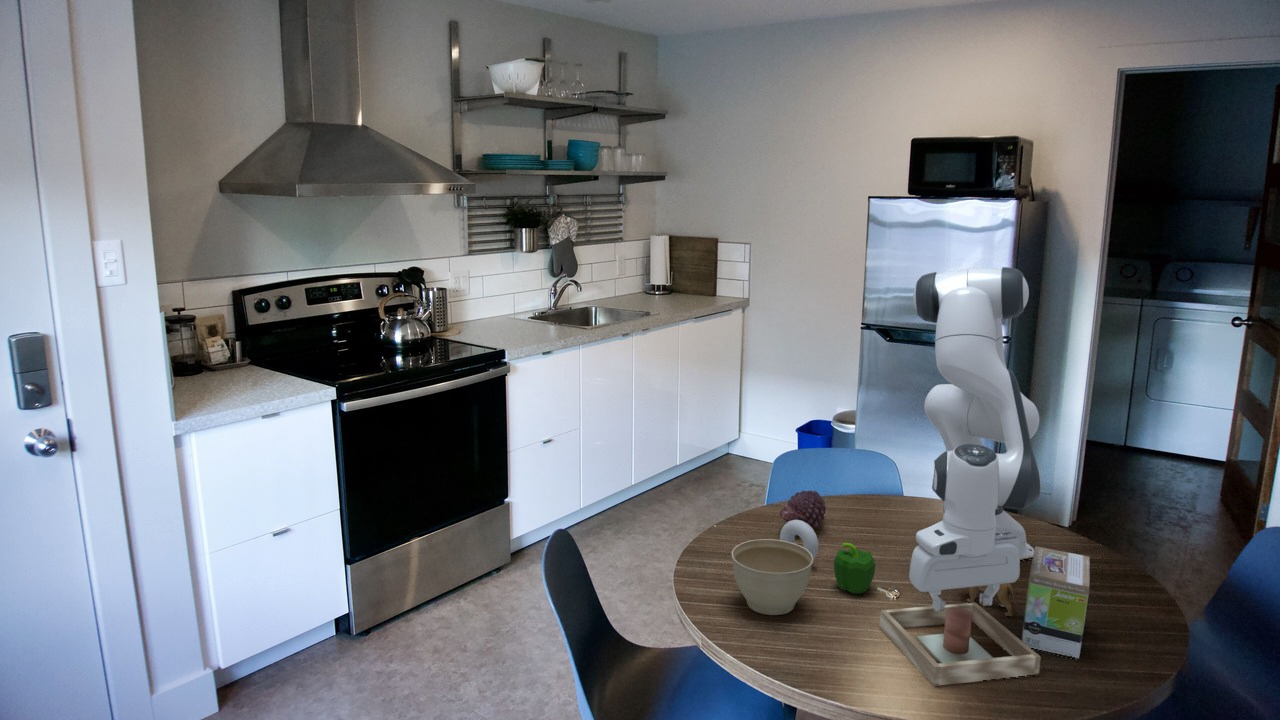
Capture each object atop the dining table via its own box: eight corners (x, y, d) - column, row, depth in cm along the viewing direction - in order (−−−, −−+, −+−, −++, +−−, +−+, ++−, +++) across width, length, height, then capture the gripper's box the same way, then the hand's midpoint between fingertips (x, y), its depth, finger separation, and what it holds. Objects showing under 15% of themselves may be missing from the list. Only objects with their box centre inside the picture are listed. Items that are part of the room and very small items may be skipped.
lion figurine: (945, 598, 174) (949, 558, 172) (954, 589, 178) (958, 549, 176) (1020, 621, 165) (1025, 579, 163) (1028, 611, 169) (1032, 570, 167)
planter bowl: (762, 579, 181) (764, 532, 179) (825, 606, 170) (829, 555, 168) (713, 603, 170) (715, 553, 168) (778, 633, 159) (781, 580, 157)
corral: (973, 618, 165) (975, 602, 165) (1038, 675, 146) (1040, 656, 146) (879, 627, 162) (880, 610, 161) (933, 686, 142) (935, 667, 142)
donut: (820, 567, 187) (823, 525, 185) (810, 572, 185) (813, 529, 183) (785, 553, 194) (787, 512, 193) (775, 557, 192) (777, 516, 190)
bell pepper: (880, 588, 178) (884, 544, 176) (861, 601, 172) (864, 556, 170) (845, 576, 183) (848, 533, 181) (825, 588, 177) (828, 544, 175)
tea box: (1080, 662, 151) (1090, 585, 148) (1020, 647, 155) (1028, 573, 152) (1081, 625, 164) (1090, 554, 161) (1025, 612, 168) (1033, 543, 165)
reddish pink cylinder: (959, 640, 156) (963, 606, 155) (973, 653, 152) (977, 617, 151) (938, 642, 156) (941, 607, 154) (951, 655, 151) (954, 619, 150)
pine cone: (804, 514, 219) (806, 477, 217) (839, 523, 212) (842, 486, 210) (769, 534, 205) (771, 496, 203) (806, 545, 199) (808, 505, 197)
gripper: (1009, 524, 155) (1002, 593, 158) (907, 533, 151) (902, 603, 154) (1031, 538, 149) (1023, 609, 151) (926, 548, 145) (920, 621, 148)
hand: (962, 607), depth 153 cm, fingers open, 8 cm apart
